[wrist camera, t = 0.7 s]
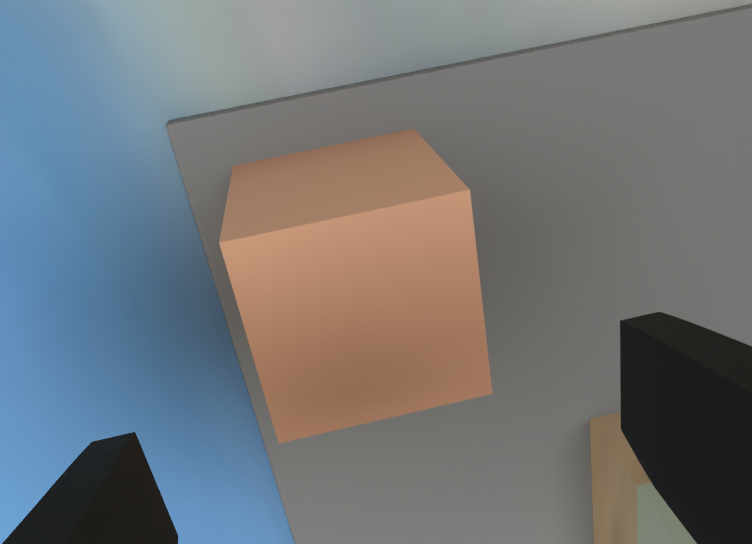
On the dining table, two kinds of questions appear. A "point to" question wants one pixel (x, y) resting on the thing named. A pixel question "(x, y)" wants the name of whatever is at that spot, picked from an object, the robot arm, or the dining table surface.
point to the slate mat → (520, 264)
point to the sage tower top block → (657, 519)
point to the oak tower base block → (614, 482)
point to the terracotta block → (356, 282)
